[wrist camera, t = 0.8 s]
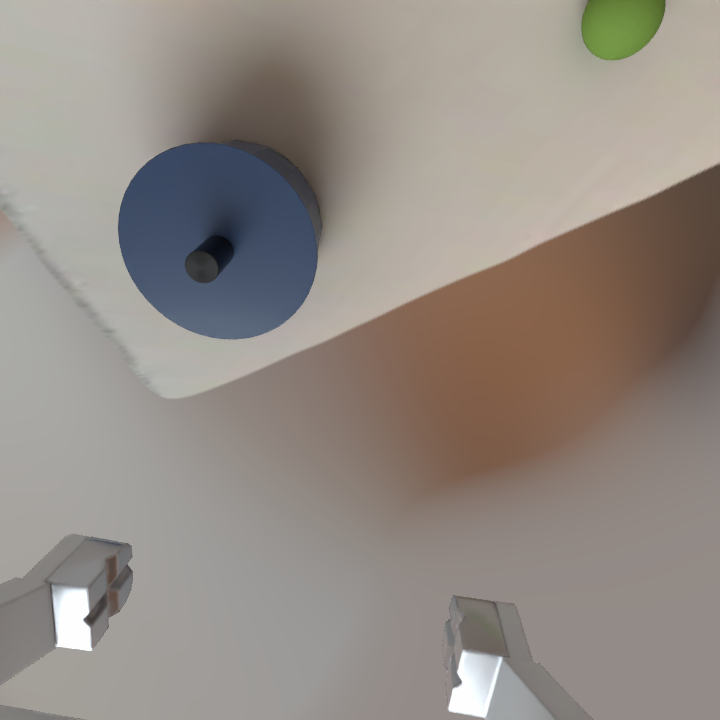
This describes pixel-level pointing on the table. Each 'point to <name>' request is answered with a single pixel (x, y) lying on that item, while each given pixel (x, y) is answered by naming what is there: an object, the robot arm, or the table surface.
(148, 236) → the pot lid
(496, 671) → the robot arm
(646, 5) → the guava
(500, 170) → the table surface
